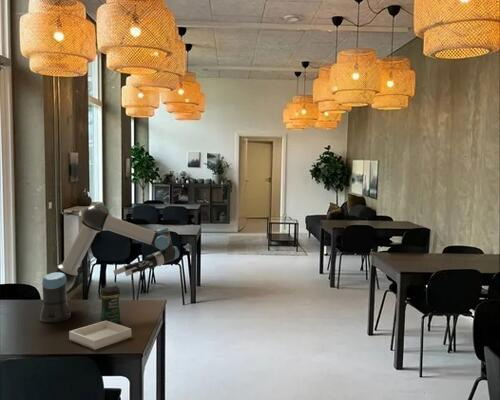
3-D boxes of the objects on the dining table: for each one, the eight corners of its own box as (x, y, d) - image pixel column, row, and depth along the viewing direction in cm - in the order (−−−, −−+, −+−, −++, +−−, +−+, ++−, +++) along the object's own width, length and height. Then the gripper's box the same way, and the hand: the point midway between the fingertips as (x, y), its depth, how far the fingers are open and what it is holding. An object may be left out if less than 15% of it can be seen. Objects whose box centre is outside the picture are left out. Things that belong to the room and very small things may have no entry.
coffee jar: (104, 326, 236) (103, 290, 235) (98, 322, 242) (98, 286, 241) (122, 322, 242) (122, 287, 241) (116, 318, 248) (116, 284, 247)
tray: (69, 339, 217) (69, 331, 217) (106, 328, 233) (105, 320, 233) (94, 349, 205) (94, 340, 205) (131, 337, 221) (131, 328, 221)
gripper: (167, 267, 252) (132, 281, 238) (144, 266, 271) (111, 279, 257) (163, 254, 251) (128, 266, 238) (141, 254, 270) (107, 266, 256)
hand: (119, 273), depth 247 cm, fingers open, 13 cm apart
